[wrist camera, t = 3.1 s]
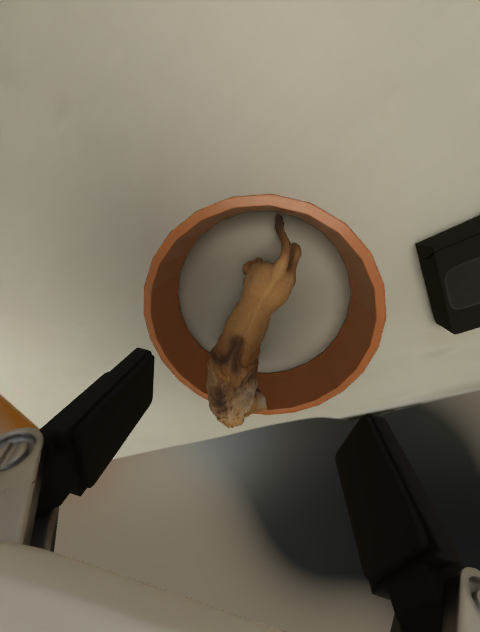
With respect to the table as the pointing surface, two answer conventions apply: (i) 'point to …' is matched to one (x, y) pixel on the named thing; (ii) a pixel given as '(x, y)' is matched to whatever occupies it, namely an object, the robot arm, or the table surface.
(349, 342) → the basin
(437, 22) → the table surface
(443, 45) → the table surface
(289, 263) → the lion figurine
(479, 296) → the vhs tape
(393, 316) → the table surface
